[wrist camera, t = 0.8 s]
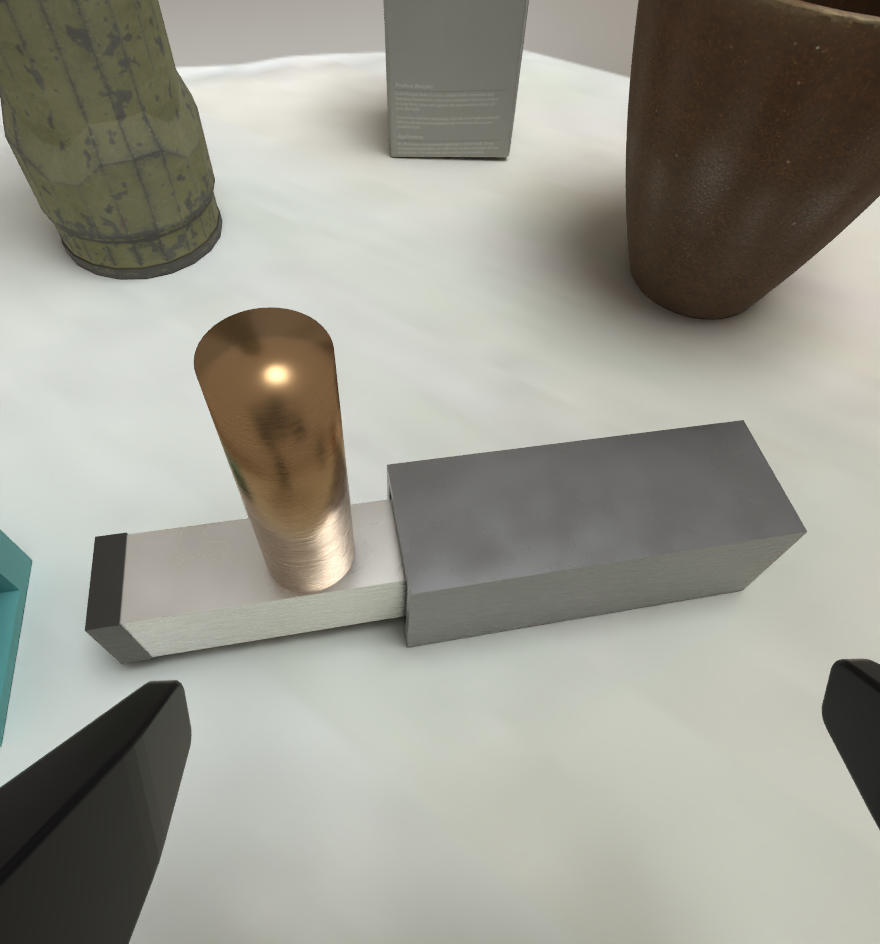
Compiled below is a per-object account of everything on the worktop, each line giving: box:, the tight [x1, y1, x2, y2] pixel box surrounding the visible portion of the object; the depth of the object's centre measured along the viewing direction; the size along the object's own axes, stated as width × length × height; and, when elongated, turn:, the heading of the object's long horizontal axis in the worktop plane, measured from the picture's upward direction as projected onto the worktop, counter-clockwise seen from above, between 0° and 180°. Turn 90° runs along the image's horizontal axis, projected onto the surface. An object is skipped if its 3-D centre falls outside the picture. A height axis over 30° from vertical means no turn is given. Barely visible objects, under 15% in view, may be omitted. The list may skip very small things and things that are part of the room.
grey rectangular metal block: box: [387, 420, 807, 647], centre depth 25 cm, size 14×5×5 cm, turn 101°
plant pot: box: [626, 0, 880, 319], centre depth 31 cm, size 15×15×16 cm
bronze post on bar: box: [85, 308, 408, 664], centre depth 20 cm, size 22×3×13 cm, turn 101°
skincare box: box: [384, 0, 529, 157], centre depth 38 cm, size 8×7×16 cm
